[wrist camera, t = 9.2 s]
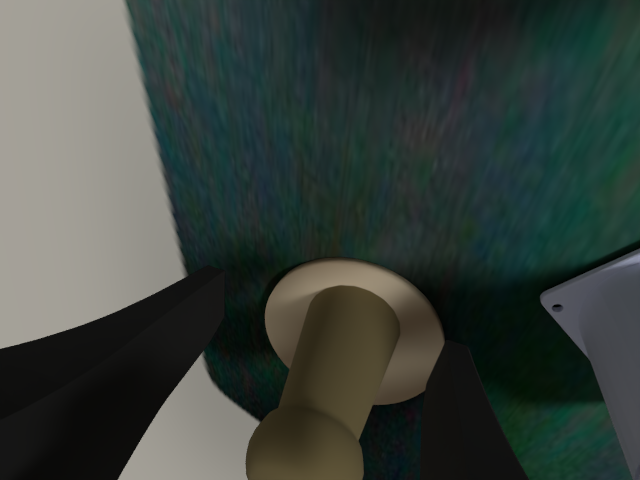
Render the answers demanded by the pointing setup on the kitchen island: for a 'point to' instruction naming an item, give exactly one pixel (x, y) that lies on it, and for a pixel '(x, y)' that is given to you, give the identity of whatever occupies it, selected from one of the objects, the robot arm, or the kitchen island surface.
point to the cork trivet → (403, 297)
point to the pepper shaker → (327, 390)
